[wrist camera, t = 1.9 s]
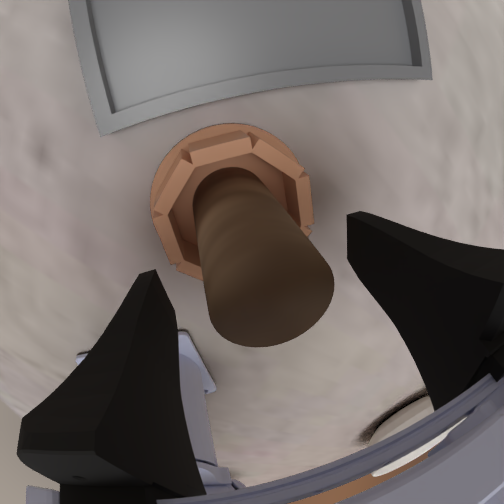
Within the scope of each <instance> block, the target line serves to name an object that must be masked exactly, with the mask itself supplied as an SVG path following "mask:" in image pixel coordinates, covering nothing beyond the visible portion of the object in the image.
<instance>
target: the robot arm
mask: <svg viewBox="0 0 504 504" xmlns="http://www.w3.org/2000/svg"><path fill="white" fill-rule="evenodd" d="M347 259H348V261H349V263H350V265H351V266H352V268H353V270H354V271H355V273H356V275H357V276H358V278H359V279H360V281H361V282H362V283H363V285H364V286H365V287H366V288H367V290H368V291H369V292H370V293H371V295H372V296H373V297H374V298H375V300H376V301H377V302H378V304H379V305H380V306H381V307H382V309H383V310H384V311H385V312H386V314H387V315H388V316H389V318H390V319H391V320H392V322H393V323H394V325H395V326H396V328H397V330H398V331H399V333H400V335H401V337H402V338H403V340H404V342H405V344H406V345H407V347H408V349H409V351H410V353H411V355H412V357H413V359H414V361H415V363H416V365H417V367H418V370H419V372H420V374H421V377H422V379H423V381H424V383H425V386H426V389H427V391H428V394H429V397H430V400H431V402H432V405H433V408H434V412H433V413H431V414H430V415H428V416H426V417H425V418H423V419H421V420H420V421H418V422H416V423H414V424H413V425H411V426H409V427H407V428H405V429H403V430H402V431H400V432H398V433H396V434H394V435H392V436H390V437H388V438H386V439H384V440H382V441H380V442H378V443H376V444H374V445H371V446H369V447H367V448H365V449H363V450H360V451H358V452H356V453H353V454H351V455H349V456H346V457H344V458H341V459H339V460H336V461H334V462H331V463H328V464H326V465H323V466H320V467H317V468H314V469H311V470H308V471H305V472H302V473H299V474H296V475H293V476H289V477H286V478H283V479H279V480H275V481H272V482H268V483H264V484H260V485H256V486H251V487H246V486H245V485H244V484H243V483H241V482H240V481H238V480H235V479H231V477H230V472H229V468H227V467H218V464H217V459H216V454H215V449H214V444H213V439H212V434H211V428H210V423H209V417H208V412H207V406H206V400H205V394H208V393H212V392H215V391H216V390H217V389H216V385H215V383H214V381H213V379H212V378H211V376H210V374H209V372H208V370H207V368H206V367H205V365H204V363H203V361H202V359H201V357H200V355H199V353H198V352H197V350H196V348H195V346H194V344H193V342H192V340H191V338H190V336H189V334H188V333H187V332H184V331H180V332H178V329H177V322H176V316H175V310H174V308H173V306H172V304H171V302H170V300H169V298H168V296H167V293H166V291H165V289H164V287H163V285H162V283H161V280H160V278H159V276H158V274H157V272H156V269H154V270H151V271H148V272H144V273H141V274H139V276H138V277H137V279H136V280H135V282H134V284H133V285H132V287H131V289H130V290H129V292H128V294H127V296H126V297H125V299H124V301H123V302H122V304H121V306H120V307H119V309H118V311H117V312H116V314H115V316H114V317H113V319H112V320H111V322H110V323H109V325H108V326H107V328H106V330H105V331H104V333H103V334H102V336H101V337H100V338H99V340H98V341H97V343H96V344H95V345H94V347H93V348H92V349H91V350H90V352H89V353H87V354H82V355H78V356H77V357H76V363H77V364H78V366H77V367H76V368H75V370H74V371H73V372H72V373H71V374H70V375H69V376H68V378H67V379H66V380H65V381H64V382H63V383H62V384H61V385H60V386H59V387H58V388H57V389H56V390H55V391H54V392H52V393H51V394H50V395H49V396H48V397H47V398H46V399H45V400H44V401H43V402H41V403H40V404H39V405H38V406H37V407H35V408H34V409H33V410H32V411H30V412H29V413H28V414H27V415H25V416H24V417H23V418H22V422H21V428H20V434H19V441H18V447H17V456H18V457H19V459H20V460H21V461H22V462H23V463H24V464H25V465H26V466H28V467H29V468H31V469H33V470H34V471H36V472H38V473H40V474H42V475H44V476H45V477H47V478H49V479H51V480H53V481H56V482H57V483H59V484H60V492H59V491H56V490H52V489H47V488H40V487H35V486H29V485H28V486H27V488H26V504H287V503H291V502H294V501H298V500H301V499H304V498H307V497H311V496H314V495H317V494H320V493H322V492H325V491H328V490H331V489H334V488H336V487H339V486H341V485H344V484H347V483H349V482H351V481H354V480H356V479H358V478H361V477H363V476H365V475H368V474H370V473H372V472H374V471H376V470H378V469H380V468H383V467H385V466H387V465H389V464H391V463H393V462H394V461H396V460H398V459H400V458H402V457H404V456H406V455H408V454H409V453H411V452H413V451H415V450H416V449H418V448H420V447H422V446H423V445H425V444H427V443H428V442H430V441H431V440H433V439H435V438H436V437H438V436H439V435H441V434H442V433H444V432H446V431H447V430H448V429H450V428H451V427H453V426H454V425H456V424H457V423H459V422H460V421H461V420H463V419H464V418H466V417H467V418H466V419H464V420H463V421H462V422H461V423H460V424H458V425H457V426H456V427H455V428H453V429H452V430H451V431H450V432H449V433H448V434H447V436H446V437H445V438H444V439H443V440H442V441H441V442H440V443H439V444H438V445H437V446H436V447H435V448H433V449H432V450H431V451H430V452H429V453H428V457H429V458H427V459H425V460H424V461H422V462H420V463H418V464H417V465H415V466H413V467H411V468H409V469H408V470H406V471H404V472H402V473H400V474H398V475H396V476H395V477H393V478H391V479H389V480H387V481H385V482H383V483H380V484H379V485H377V486H374V487H372V488H370V489H368V490H366V491H363V492H361V493H359V494H357V495H354V496H352V497H350V498H347V499H345V500H342V501H340V502H337V503H335V504H504V250H503V249H492V248H485V247H479V246H474V245H468V244H463V243H459V242H455V241H451V240H447V239H443V238H439V237H436V236H433V235H430V234H427V233H424V232H421V231H418V230H415V229H412V228H409V227H406V226H404V225H401V224H398V223H395V222H393V221H390V220H387V219H385V218H382V217H379V216H376V215H373V214H370V213H366V212H362V211H359V212H355V213H351V214H348V215H347Z"/></svg>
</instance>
